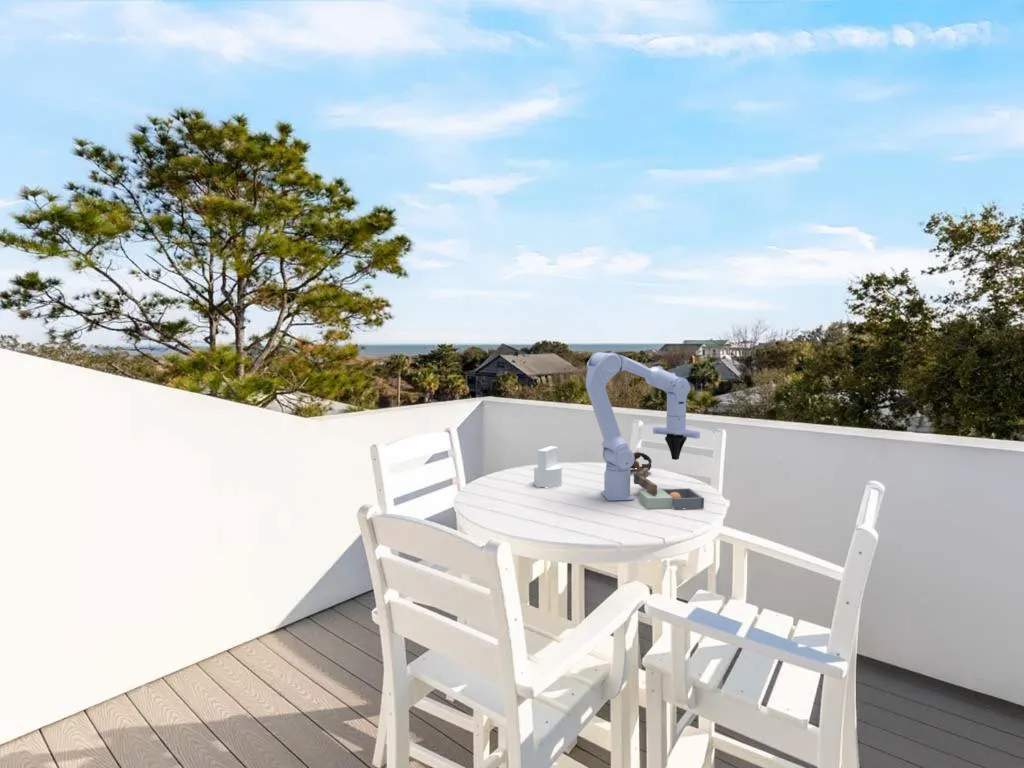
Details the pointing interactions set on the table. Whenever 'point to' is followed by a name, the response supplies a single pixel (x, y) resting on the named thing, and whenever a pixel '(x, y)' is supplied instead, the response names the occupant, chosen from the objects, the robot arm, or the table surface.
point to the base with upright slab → (548, 468)
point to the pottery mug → (639, 468)
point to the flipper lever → (645, 481)
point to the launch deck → (656, 499)
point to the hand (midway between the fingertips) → (675, 459)
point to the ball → (675, 495)
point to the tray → (686, 499)
